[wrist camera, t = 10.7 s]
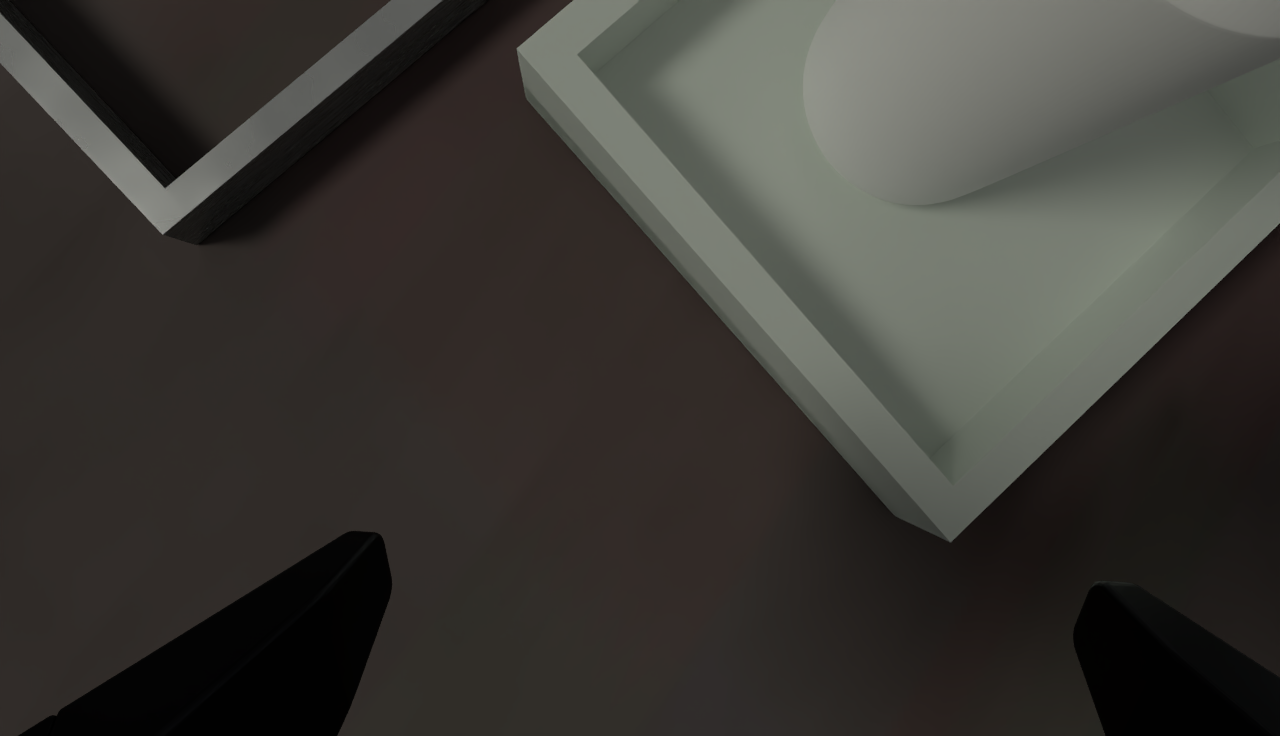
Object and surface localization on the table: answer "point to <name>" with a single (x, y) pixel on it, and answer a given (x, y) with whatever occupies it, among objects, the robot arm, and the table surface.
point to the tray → (904, 240)
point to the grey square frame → (256, 149)
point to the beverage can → (1008, 81)
